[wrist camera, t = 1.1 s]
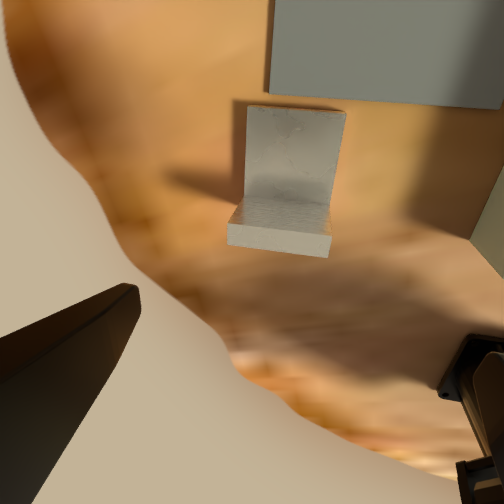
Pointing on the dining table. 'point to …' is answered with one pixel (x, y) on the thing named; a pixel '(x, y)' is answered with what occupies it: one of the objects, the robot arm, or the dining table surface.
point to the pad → (390, 51)
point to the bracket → (288, 180)
